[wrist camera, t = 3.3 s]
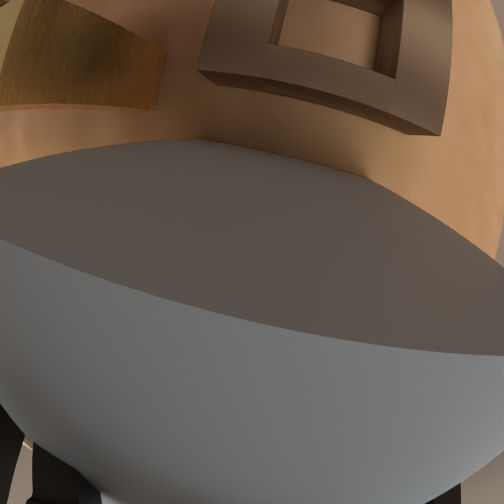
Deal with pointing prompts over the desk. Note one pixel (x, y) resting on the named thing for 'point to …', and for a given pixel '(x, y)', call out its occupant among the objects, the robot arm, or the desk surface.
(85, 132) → the desk surface
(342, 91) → the socket board
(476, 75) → the desk surface
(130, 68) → the brass pin
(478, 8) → the desk surface
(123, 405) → the block
